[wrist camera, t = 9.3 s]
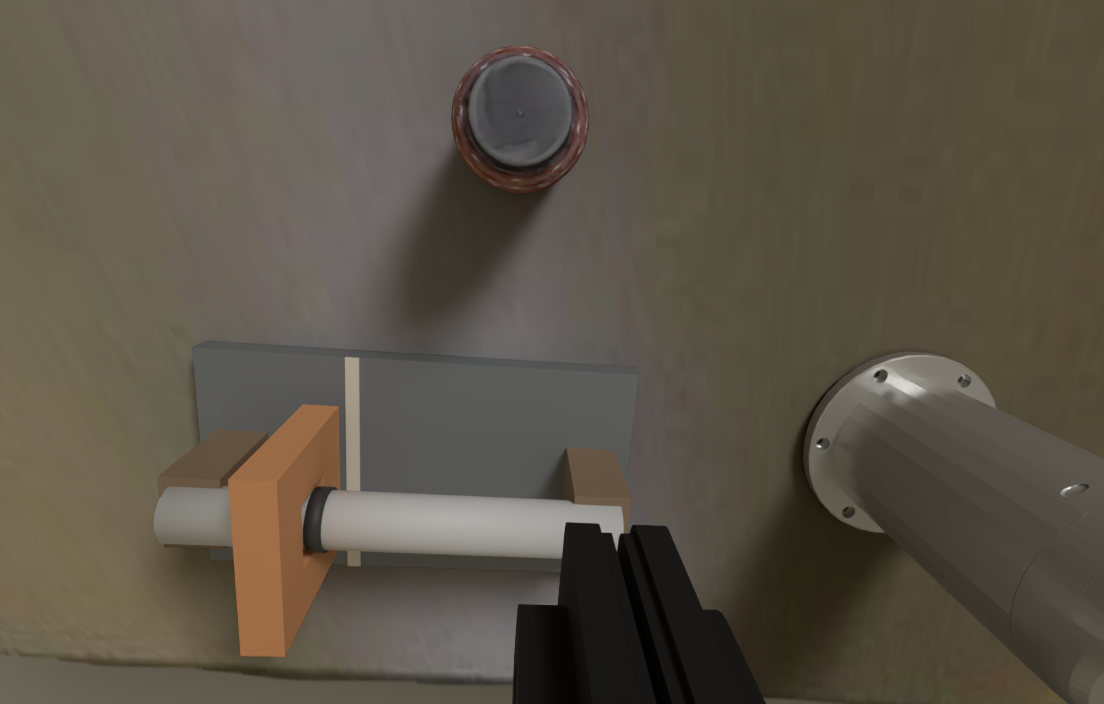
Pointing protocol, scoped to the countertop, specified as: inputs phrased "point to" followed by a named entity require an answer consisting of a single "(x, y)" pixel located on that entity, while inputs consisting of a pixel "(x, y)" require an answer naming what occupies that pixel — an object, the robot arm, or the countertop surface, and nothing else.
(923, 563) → the robot arm
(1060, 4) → the countertop surface
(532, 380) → the pipe stand
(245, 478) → the orange square ring
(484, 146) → the supplement bottle
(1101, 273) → the countertop surface
